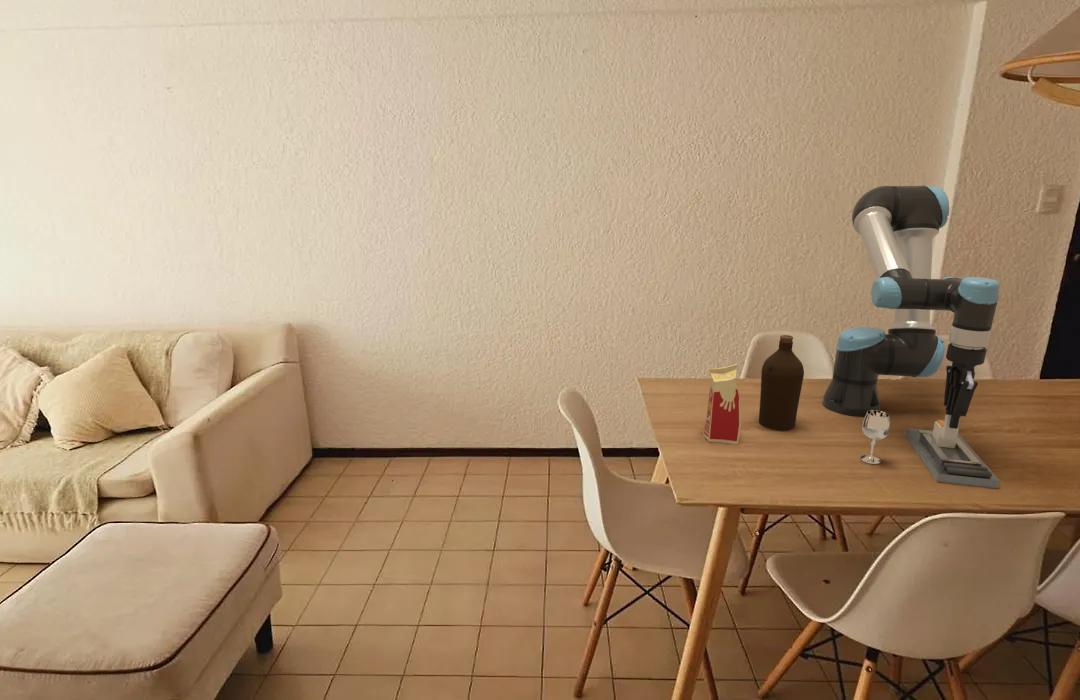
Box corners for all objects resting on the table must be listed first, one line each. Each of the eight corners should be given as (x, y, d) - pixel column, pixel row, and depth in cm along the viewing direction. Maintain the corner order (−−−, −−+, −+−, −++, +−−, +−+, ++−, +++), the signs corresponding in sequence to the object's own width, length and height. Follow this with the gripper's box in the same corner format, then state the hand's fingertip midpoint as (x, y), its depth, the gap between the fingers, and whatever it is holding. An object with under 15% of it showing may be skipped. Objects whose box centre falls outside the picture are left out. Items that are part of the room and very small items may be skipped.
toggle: (936, 446, 155) (940, 425, 153) (931, 439, 158) (935, 419, 157) (954, 448, 154) (959, 427, 152) (949, 441, 157) (953, 420, 156)
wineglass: (855, 461, 151) (863, 415, 148) (858, 452, 156) (865, 407, 153) (882, 467, 148) (891, 420, 145) (884, 458, 153) (892, 412, 150)
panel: (936, 481, 142) (939, 468, 141) (905, 435, 166) (907, 423, 165) (997, 488, 139) (1000, 475, 138) (956, 440, 163) (958, 428, 162)
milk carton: (736, 430, 169) (743, 359, 163) (740, 444, 160) (747, 370, 155) (701, 427, 171) (707, 357, 165) (703, 441, 162) (709, 368, 156)
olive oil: (794, 435, 166) (805, 344, 159) (752, 427, 171) (761, 338, 164) (799, 421, 175) (810, 334, 168) (760, 413, 180) (769, 329, 173)
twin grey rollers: (948, 474, 141) (949, 468, 141) (942, 467, 144) (943, 461, 144) (992, 479, 139) (993, 473, 138) (986, 471, 142) (987, 466, 142)
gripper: (997, 354, 139) (976, 451, 146) (975, 338, 151) (956, 429, 158) (959, 351, 141) (939, 448, 147) (940, 336, 153) (923, 426, 160)
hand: (948, 438), depth 153 cm, fingers closed
